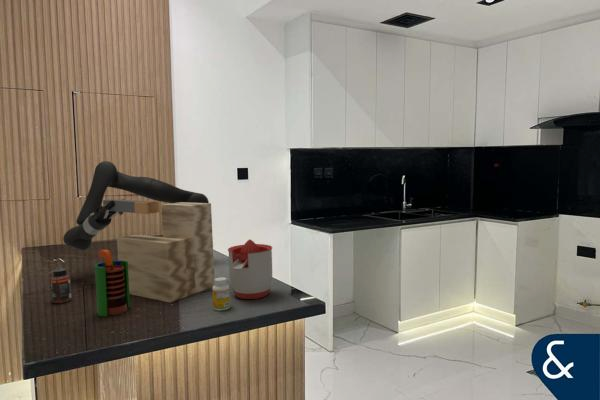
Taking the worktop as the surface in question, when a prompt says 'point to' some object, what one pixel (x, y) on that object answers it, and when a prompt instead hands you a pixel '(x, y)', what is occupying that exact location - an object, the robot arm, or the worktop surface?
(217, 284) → the supplement bottle
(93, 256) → the worktop surface
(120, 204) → the grey and tan bar
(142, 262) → the stand
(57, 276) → the supplement bottle
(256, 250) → the citrus juicer
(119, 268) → the motor
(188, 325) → the worktop surface
